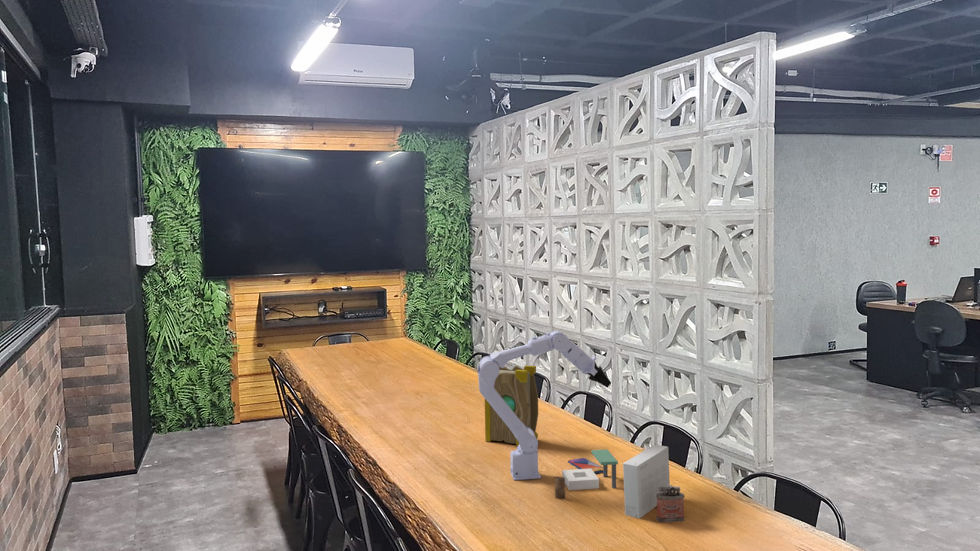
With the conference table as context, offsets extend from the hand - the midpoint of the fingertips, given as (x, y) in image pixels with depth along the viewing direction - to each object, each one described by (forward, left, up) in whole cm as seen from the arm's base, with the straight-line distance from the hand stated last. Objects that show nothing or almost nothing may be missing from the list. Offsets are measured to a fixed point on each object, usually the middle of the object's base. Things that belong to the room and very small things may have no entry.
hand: (606, 382), depth 235 cm
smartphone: (-6, +6, -32) cm, 33 cm away
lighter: (+7, -40, -32) cm, 51 cm away
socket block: (-12, -9, -31) cm, 35 cm away
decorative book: (-28, +39, -32) cm, 57 cm away
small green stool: (-4, -9, -31) cm, 33 cm away
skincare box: (+4, -29, -32) cm, 43 cm away
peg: (-21, -19, -32) cm, 42 cm away
